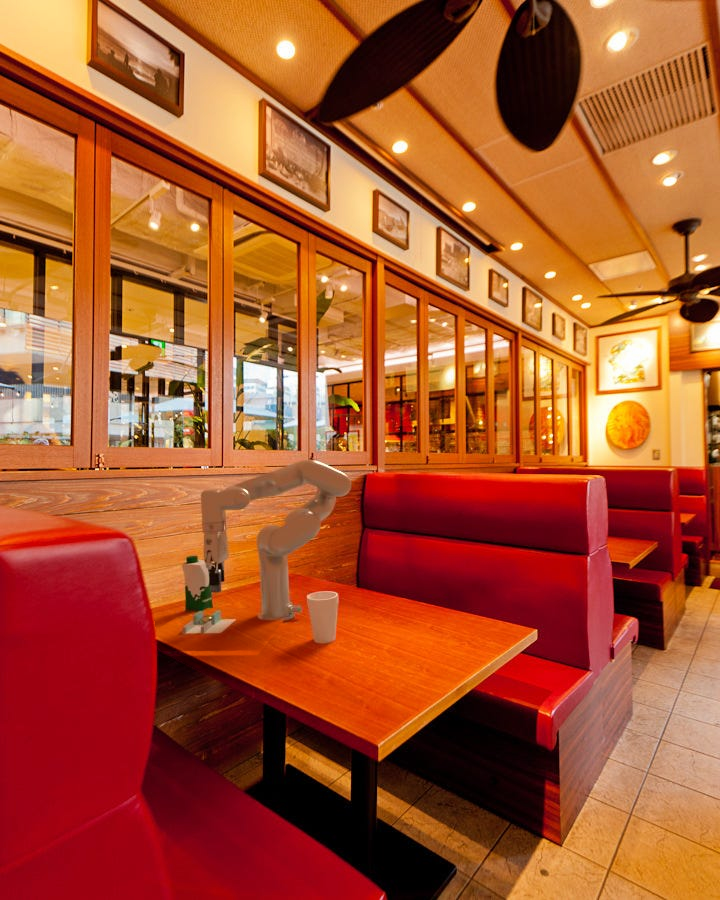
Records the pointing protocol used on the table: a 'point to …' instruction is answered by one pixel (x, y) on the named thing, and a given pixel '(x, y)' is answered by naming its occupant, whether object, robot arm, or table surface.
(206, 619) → the plunger
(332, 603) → the foam cup
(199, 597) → the milk carton
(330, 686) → the table surface
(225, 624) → the board
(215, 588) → the cell
